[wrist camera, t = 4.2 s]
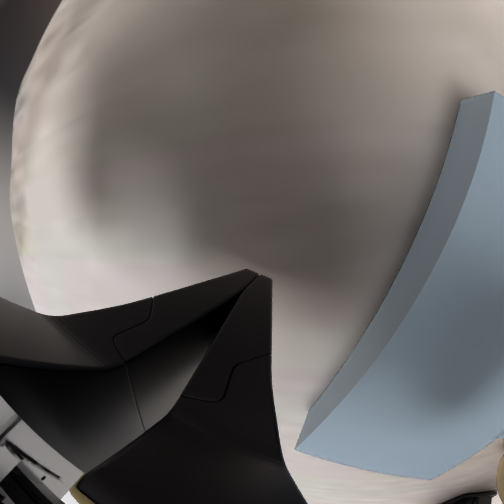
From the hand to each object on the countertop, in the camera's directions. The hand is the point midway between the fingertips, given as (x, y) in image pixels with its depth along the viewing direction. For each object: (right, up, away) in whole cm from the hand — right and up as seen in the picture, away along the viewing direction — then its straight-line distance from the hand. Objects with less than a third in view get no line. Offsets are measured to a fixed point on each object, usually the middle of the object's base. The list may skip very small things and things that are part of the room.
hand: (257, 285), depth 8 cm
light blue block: (+10, -3, -2) cm, 11 cm away
